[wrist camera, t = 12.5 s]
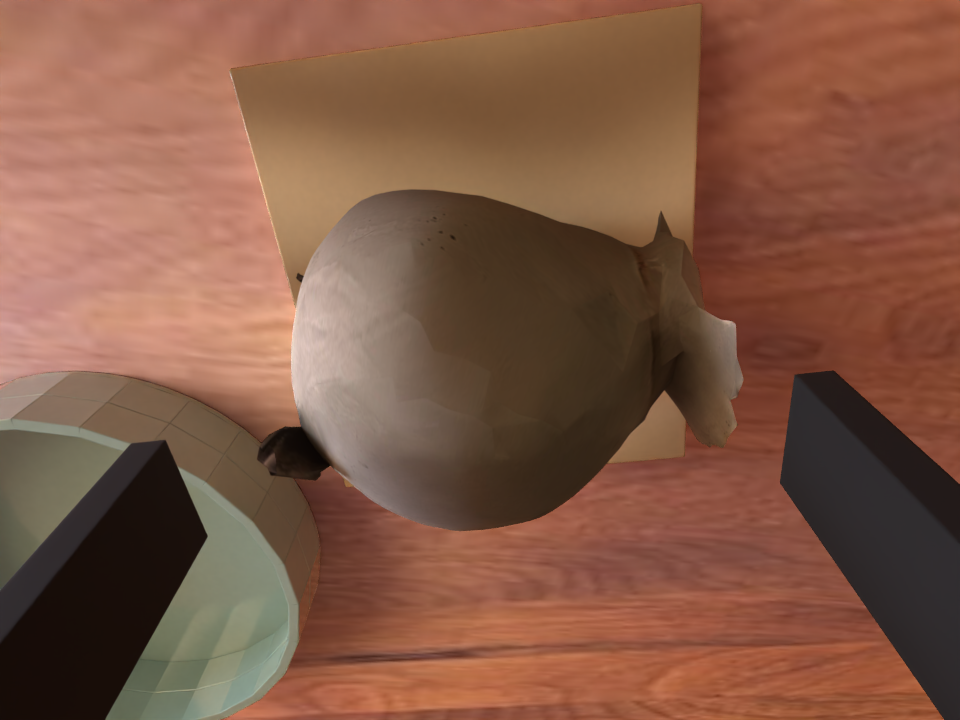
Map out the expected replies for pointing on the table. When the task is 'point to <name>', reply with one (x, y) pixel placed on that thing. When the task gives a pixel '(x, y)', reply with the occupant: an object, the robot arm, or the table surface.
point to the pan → (223, 512)
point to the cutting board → (493, 137)
